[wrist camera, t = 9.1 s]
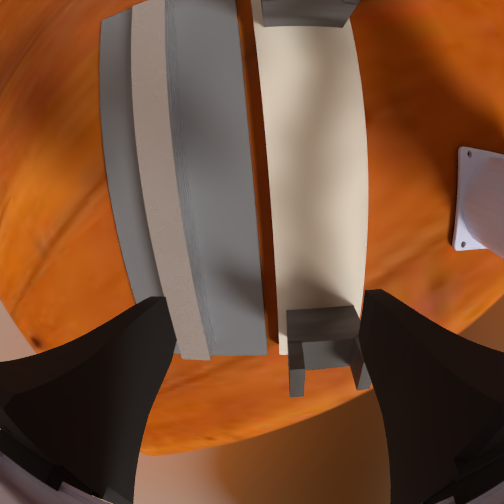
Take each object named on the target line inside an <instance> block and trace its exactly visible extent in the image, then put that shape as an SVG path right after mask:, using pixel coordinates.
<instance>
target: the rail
mask: <svg viewBox="0 0 504 504" xmlns="http://www.w3.org/2000/svg"><path fill="white" fill-rule="evenodd" d="M131 78H132V100H133V115H134V127H135V137H136V147H137V156H138V164H139V171H140V179H141V185H142V192H143V198H144V204H145V210H146V216H147V221H148V227H149V232H150V237H151V242H152V247H153V251H154V256H155V260H156V265H157V269H158V273H159V278H160V282H161V286H162V290H163V294H164V297H166V300H167V304H168V308H169V312H170V316H171V320H172V323H173V327H174V331H175V334H176V338H177V343H178V347H179V350H180V353H181V356H182V359H192V360H211V357H212V353H213V350H214V346H215V342H216V340H215V336H214V331H213V326H212V321H211V316H210V311H209V306H208V301H207V295H206V290H205V285H204V279H203V273H202V268H201V262H200V256H199V250H198V244H197V237H196V231H195V224H194V218H193V211H192V203H191V196H190V189H189V181H188V173H187V164H186V156H185V147H184V137H183V127H182V116H181V105H180V92H179V77H178V60H177V38H176V8H175V7H174V6H173V5H172V3H171V2H170V1H169V0H148V1H145V2H142V3H139V4H136V5H134V6H133V7H132V27H131Z"/></svg>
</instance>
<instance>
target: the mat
mask: <svg viewBox="0 0 504 504" xmlns="http://www.w3.org/2000/svg"><path fill="white" fill-rule="evenodd" d="M169 1H170V2H171V3H172V5H173V6H174V7H175V8H176V38H177V60H178V77H179V92H180V105H181V116H182V127H183V137H184V147H185V156H186V164H187V173H188V181H189V189H190V196H191V203H192V211H193V218H194V224H195V231H196V237H197V244H198V250H199V256H200V262H201V268H202V273H203V279H204V285H205V290H206V295H207V301H208V306H209V311H210V316H211V321H212V326H213V331H214V336H215V340H216V342H215V346H214V350H213V353H212V355H267V338H266V325H265V313H264V300H263V288H262V276H261V263H260V252H259V240H258V228H257V216H256V205H255V194H254V182H253V171H252V160H251V149H250V138H249V128H248V117H247V107H246V96H245V86H244V76H243V65H242V55H241V46H240V36H239V26H238V16H237V7H236V0H169ZM131 27H132V8H131V9H128V10H126V11H123V12H121V13H118V14H116V15H113V16H111V17H109V18H106V19H104V20H102V24H101V37H100V62H99V87H100V113H101V127H102V139H103V148H104V157H105V165H106V172H107V179H108V186H109V192H110V198H111V203H112V209H113V214H114V219H115V224H116V229H117V233H118V238H119V242H120V246H121V251H122V255H123V259H124V263H125V266H126V270H127V274H128V277H129V281H130V285H131V288H132V291H133V295H134V298H135V301H136V304H137V303H139V302H141V301H143V300H144V299H146V298H149V297H151V296H163V297H164V294H163V290H162V286H161V282H160V278H159V273H158V269H157V265H156V260H155V256H154V251H153V247H152V242H151V237H150V232H149V227H148V221H147V216H146V210H145V204H144V198H143V192H142V185H141V179H140V171H139V164H138V156H137V147H136V137H135V127H134V115H133V100H132V78H131ZM174 354H181V353H180V350H179V347H178V343H177V342H176V346H175V350H174Z"/></svg>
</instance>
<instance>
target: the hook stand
mask: <svg viewBox="0 0 504 504" xmlns="http://www.w3.org/2000/svg"><path fill="white" fill-rule="evenodd" d="M359 2H360V0H251V7H252V15H253V23H254V31H255V40H256V48H257V57H258V66H259V76H260V85H261V95H262V105H263V116H264V126H265V137H266V149H267V161H268V173H269V185H270V198H271V212H272V226H273V241H274V256H275V273H276V290H277V309H278V330H279V353H280V355H287V354H288V366H289V389H290V397H300V396H304V381H305V370H315V369H326V368H336V367H344V366H350V367H351V371H352V374H353V378H354V382H355V385H356V389H357V390H363V389H369V388H370V385H371V379H370V376H369V373H368V371H367V368H366V365H365V362H364V359H363V356H362V351H361V347H360V342H359V337H358V334H359V328H360V322H361V321H360V311H361V303H362V295H363V285H364V275H365V263H366V248H367V228H368V157H367V138H366V124H365V112H364V102H363V94H362V86H361V78H360V71H359V65H358V59H357V53H356V47H355V42H354V37H353V32H352V27H351V23H350V18H349V17H350V16H351V14H352V12H353V11H354V9H355V8H356V6H357V5H358V3H359Z"/></svg>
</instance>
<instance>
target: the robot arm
mask: <svg viewBox="0 0 504 504" xmlns="http://www.w3.org/2000/svg"><path fill="white" fill-rule="evenodd" d="M468 152H469V156H468V154H467V153H468ZM462 242H463V244H462V245H461V243H462ZM452 247H453V248H454V249H455V250H457V251H461V250H473V249H484V248H488V249H489V250H491V251H492V252H494V253H495V254H497V255H499V256H500V257H501V258H503V259H504V155H503V154H499V153H495V152H490V151H485V150H480V149H475V148H470V147H463V146H462V147H460V148H459V149H458V189H457V205H456V217H455V226H454V234H453V242H452ZM358 337H359V342H360V347H361V351H362V356H363V359H364V362H365V365H366V368H367V371H368V373H369V376H370V379H371V382H372V385H373V387H374V390H375V393H376V396H377V399H378V402H379V405H380V408H381V412H382V415H383V421H384V426H385V431H386V437H387V445H388V453H389V461H390V477H391V478H390V479H391V504H504V352H500V351H497V350H494V349H491V348H488V347H485V346H482V345H480V344H477V343H475V342H472V341H470V340H467V339H465V338H463V337H461V336H459V335H457V334H455V333H453V332H451V331H449V330H447V329H445V328H443V327H441V326H440V325H438V324H436V323H435V322H433V321H431V320H429V319H428V318H426V317H425V316H423V315H421V314H420V313H418V312H417V311H415V310H414V309H412V308H410V307H409V306H407V305H406V304H404V303H403V302H401V301H400V300H398V299H397V298H395V297H394V296H392V295H390V294H389V293H387V292H385V291H383V290H381V289H376V290H365V295H364V303H363V310H362V316H361V322H360V328H359V334H358ZM176 342H177V338H176V334H175V331H174V327H173V323H172V320H171V316H170V312H169V308H168V304H167V300H166V297H163V296H151V297H149V298H146V299H144V300H143V301H141V302H139V303H137V304H136V305H134V306H132V307H131V308H129V309H127V310H126V311H124V312H123V313H121V314H119V315H118V316H116V317H115V318H113V319H111V320H110V321H108V322H106V323H104V324H103V325H101V326H99V327H97V328H96V329H94V330H92V331H91V332H89V333H87V334H85V335H83V336H81V337H79V338H77V339H75V340H73V341H70V342H68V343H66V344H64V345H61V346H59V347H56V348H53V349H51V350H48V351H45V352H42V353H39V354H36V355H33V356H29V357H25V358H21V359H16V360H11V361H5V362H0V429H1V430H0V504H110V503H107V502H105V501H102V500H100V499H103V500H106V501H108V502H111V503H113V504H133V497H134V485H135V475H136V468H137V462H138V456H139V451H140V447H141V442H142V438H143V434H144V430H145V426H146V423H147V419H148V415H149V413H150V410H151V407H152V405H153V402H154V400H155V398H156V395H157V393H158V391H159V389H160V386H161V384H162V382H163V380H164V377H165V375H166V373H167V370H168V368H169V366H170V363H171V360H172V357H173V354H174V350H175V346H176ZM92 495H93V496H95V497H93V496H92ZM96 497H97V498H96ZM98 498H100V499H98Z"/></svg>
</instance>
